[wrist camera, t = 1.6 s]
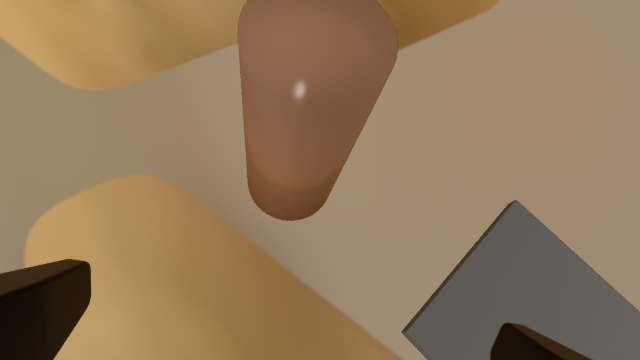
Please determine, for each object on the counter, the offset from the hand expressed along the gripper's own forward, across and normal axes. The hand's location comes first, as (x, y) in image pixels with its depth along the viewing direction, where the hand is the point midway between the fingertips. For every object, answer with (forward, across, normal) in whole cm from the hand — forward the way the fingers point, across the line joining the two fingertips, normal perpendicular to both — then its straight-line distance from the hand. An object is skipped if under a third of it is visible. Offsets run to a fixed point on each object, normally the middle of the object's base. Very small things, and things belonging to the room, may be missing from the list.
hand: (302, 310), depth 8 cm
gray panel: (+11, +14, -8) cm, 20 cm away
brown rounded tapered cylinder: (+15, -1, -3) cm, 16 cm away
